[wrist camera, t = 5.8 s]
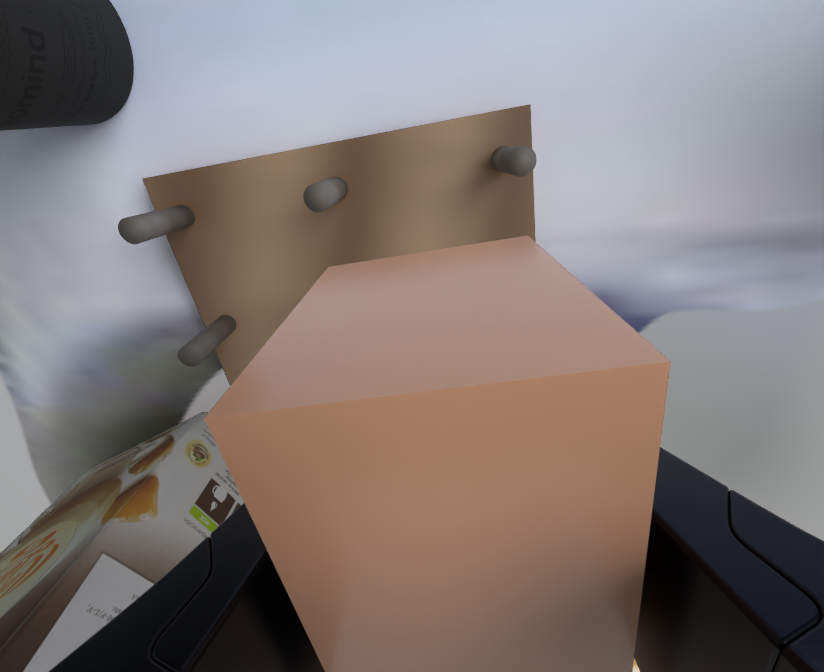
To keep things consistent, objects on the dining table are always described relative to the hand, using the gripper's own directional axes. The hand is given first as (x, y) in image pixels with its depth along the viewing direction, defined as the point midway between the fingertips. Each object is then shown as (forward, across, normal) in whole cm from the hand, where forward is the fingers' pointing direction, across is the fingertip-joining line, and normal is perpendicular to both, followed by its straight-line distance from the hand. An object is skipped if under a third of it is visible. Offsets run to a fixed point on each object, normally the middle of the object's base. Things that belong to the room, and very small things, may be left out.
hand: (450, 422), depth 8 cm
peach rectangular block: (+1, 0, 0) cm, 1 cm away
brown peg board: (+9, +3, 0) cm, 10 cm away
